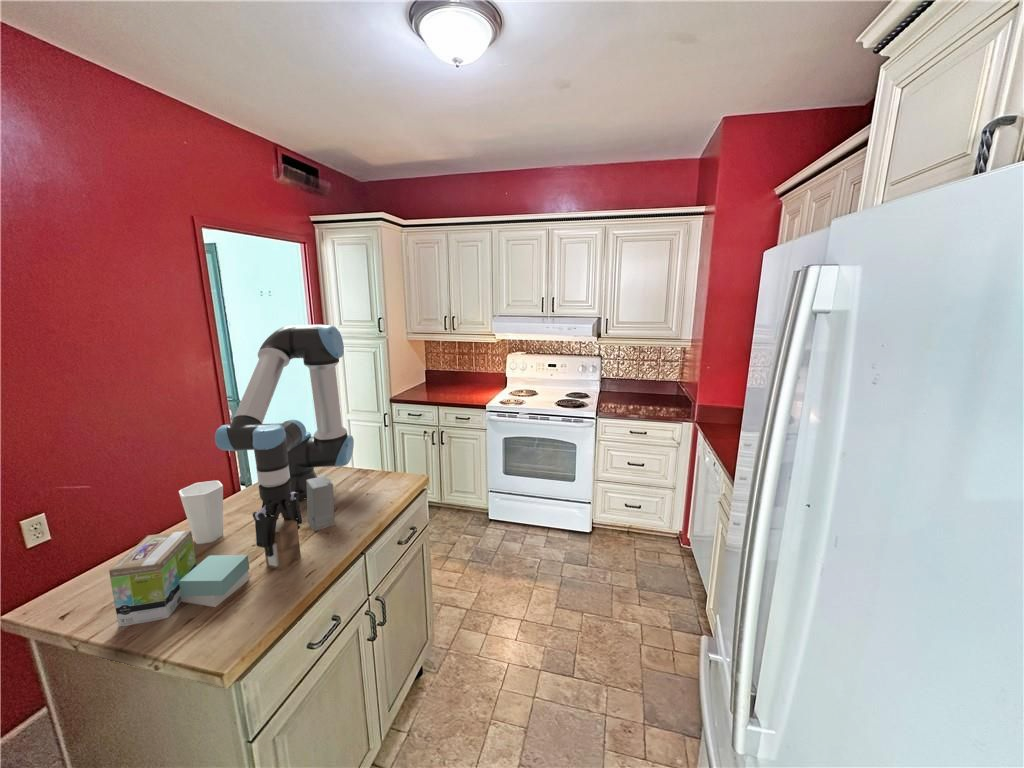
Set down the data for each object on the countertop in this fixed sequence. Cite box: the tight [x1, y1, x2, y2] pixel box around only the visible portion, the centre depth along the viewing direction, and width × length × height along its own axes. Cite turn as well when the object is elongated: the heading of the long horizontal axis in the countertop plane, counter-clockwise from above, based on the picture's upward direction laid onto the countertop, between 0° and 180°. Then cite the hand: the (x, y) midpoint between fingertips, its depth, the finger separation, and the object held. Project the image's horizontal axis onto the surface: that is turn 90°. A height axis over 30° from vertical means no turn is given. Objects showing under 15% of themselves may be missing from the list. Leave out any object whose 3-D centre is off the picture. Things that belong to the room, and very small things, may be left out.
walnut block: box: [264, 517, 302, 571], centre depth 112 cm, size 6×6×12 cm
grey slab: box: [179, 570, 250, 608], centre depth 102 cm, size 10×10×4 cm
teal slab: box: [179, 554, 250, 596], centre depth 100 cm, size 10×10×4 cm
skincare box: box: [306, 475, 335, 532], centre depth 132 cm, size 8×7×16 cm
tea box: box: [108, 529, 197, 628], centre depth 97 cm, size 15×10×15 cm
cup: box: [178, 480, 224, 545], centre depth 124 cm, size 11×10×17 cm
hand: (283, 557), depth 113 cm, fingers closed on walnut block, 6 cm apart
